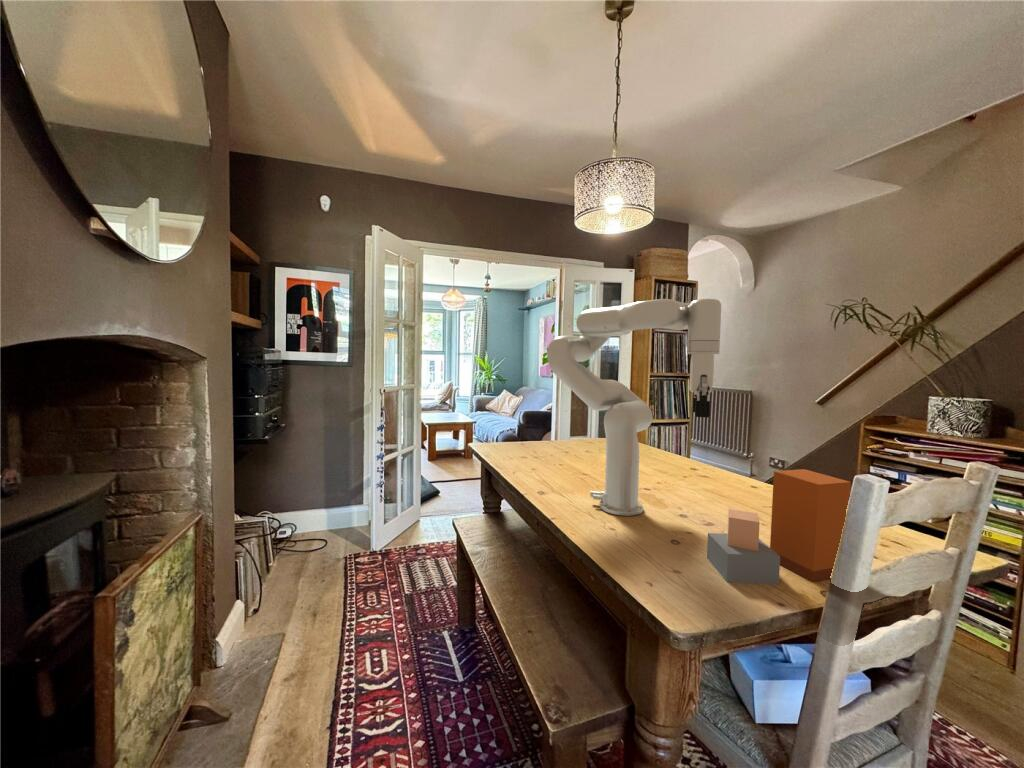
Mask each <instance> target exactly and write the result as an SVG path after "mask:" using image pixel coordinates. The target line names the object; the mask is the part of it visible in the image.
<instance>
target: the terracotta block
mask: <svg viewBox="0 0 1024 768" xmlns="http://www.w3.org/2000/svg"><path fill="white" fill-rule="evenodd" d="M726 534H727V542H728V545H729V546H734V547H739V548H745V549H750V550H755V551H758V545H759V539H760V518H759V514H758V512H751V511H745V510H739V509H734V508H733V509H732V508H728V513H727V533H726Z"/></svg>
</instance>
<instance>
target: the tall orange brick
mask: <svg viewBox="0 0 1024 768" xmlns="http://www.w3.org/2000/svg"><path fill="white" fill-rule="evenodd" d="M772 481H773V482H772V483H773V484H772V485H773V487H772V500H771V501H772V502H771V520H770V521H771V523H770V542H769V547H770V548H771V549H772V550H773V551H774V552H776V553H777V554H778V555H779V556H780V566H783V567H785V568H786V569H788V570H790V571H792V572H794V573H795V574H798V575H800V576H801V577H803V578H805V579H807V580H808V581H811V582H819V581H820V582H821V581H825V580H831V579H830V576H831V573H832V569H833V566H834V562H835V558H836V554H837V551H838V547H839V543H840V539H841V534H842V529H843V526H844V522H845V517H846V509H847V505H848V500H849V497H850V498H851V488H852V487H851V486H852V482H851V481H848V480H847V479H846V480H845V479H841V478H838V477H833V476H831V475H827V474H823V473H820V472H817V471H812V470H809V469H804V468H801V469H788V470H777V471H776V470H775V471H773V479H772Z"/></svg>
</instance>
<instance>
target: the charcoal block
mask: <svg viewBox="0 0 1024 768" xmlns="http://www.w3.org/2000/svg"><path fill="white" fill-rule="evenodd" d="M706 543H707V544H706V559H707V560H708V561H709V563H710V564H711V565H712V566H713V568H714V569H715V570H716V571H717V572H718V574H719V575H720V576H721V577H722V578H723V580H724V581H725V582H726V583H743V584H758V585H760V584H762V585H779V584H780V571H781V568H780V566H781V565H780V556H779V555H778V554H777V553H776V552H774V551H773V550H772V549H771V548H770V546H769V545H767V543H765V542H764V541H762V539H760V538H759V545H758V551H755V550H750V549H745V548H739V547H734V546H729V545H728V542H727V533H721V532H720V533H716V532H708V533H707V542H706Z"/></svg>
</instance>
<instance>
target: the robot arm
mask: <svg viewBox="0 0 1024 768" xmlns="http://www.w3.org/2000/svg"><path fill="white" fill-rule="evenodd" d="M721 322H722V303H721V301H720V300H719V299H715V298H700V299H694V300H692V301H691V302H680V301H678V300H674V299H671V298H658V299H650V300H649V299H648V300H642V301H636V302H631V303H626V304H623V305H614V306H605V307H595V308H594V307H593V308H589V309H585V310H583V311H582V312H580V313H579V314H578V315H577V317H576V321H575V323H576V328H577V330H578V331H579V332H580V333H581V334H580V335H579V336H578V335H577V336H576V335H560V336H556V337H555V338H553V339H551V340H550V343H549V344H548V346H547V351H546V355H547V357H546V358H547V363H548V365H549V368H550V370H551V371H552V373H554V375H555V377H557V378H558V379H559V380H560V381H561V382H562V383H563V384H564V385H565V386H567V387H568V388H569V390H571V392H573V393H574V394H575V396H577V397H578V398H579V399H580V400H581V401H582V402H583V403H584V404H585V405H586V406H587V407H589V409H591V410H593V411H598V412H599V411H606V412H605V413H604V417H603V427H604V434H605V482H604V483H605V485H604V486H605V487H604V490H601V491H598V490H590V495H589V496H590V498H592V500H597V501H598V500H600V501H599V508H600V509H601V510H602V511H603V512H606V513H609V514H612V515H616V516H624V517H625V516H626V517H632V516H637V515H640V514H642V513H643V512H644V506H643V504H642V503H640V502H639V481H640V444H639V438H638V433H639V432H640V433H641V432H643V431H645V430H647V429H648V428H649V427H650V426H651V424H652V422H653V419H654V418H653V413H652V410H651V408H650V407H649V405H648V404H647V403H646V402H645V401H644V400H642V399H641V398H640V397H639V396H638V395H637V394H635V392H633V391H632V390H630V388H628V386H626V385H625V384H623V383H622V382H620V381H617V380H615V379H602V378H600V377H598V376H597V375H596V374H594V373H593V372H592V371H591V370H590V369H589V368H588V367H586V366H584V365H583V364H582V363H583V362H587V361H588V360H589V359H591V358H592V357H593V356H595V355H596V354H597V352H598V351H599V350H600V349H601V348H602V347H603V346H604V345H605V343H607V341H608V340H609V339H610V338H611V337H612V336H623V335H625V336H626V335H629V334H630V333H631V332H632V331H636V330H637V331H638V330H650V329H651V330H653V329H664V330H665V329H666V330H671V331H683V330H687V347H686V348H687V349H686V354H687V355H691V357H690V364H689V365H690V366H689V367H690V368H689V385H688V389H689V391H690V392H691V393H693V397H692V412H693V413H694V415H695V417H696V418H709V417H710V415H711V413H710V411H711V409H710V408H711V401H710V393H712V392H713V384H714V373H715V372H714V371H715V370H714V369H715V355H720V349H721V328H722V326H721V325H722V324H721ZM580 362H581V363H580Z"/></svg>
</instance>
